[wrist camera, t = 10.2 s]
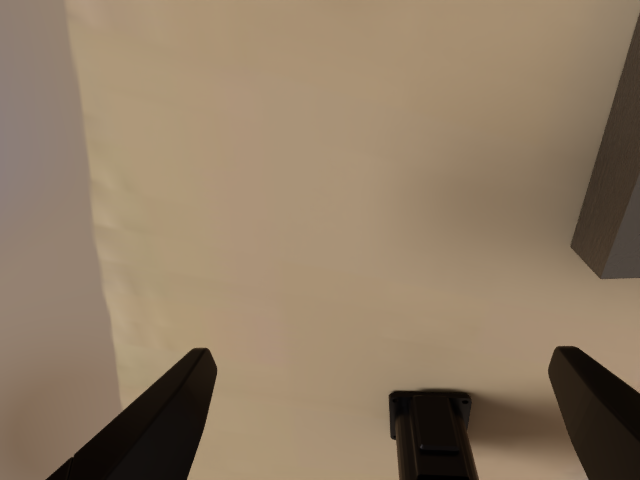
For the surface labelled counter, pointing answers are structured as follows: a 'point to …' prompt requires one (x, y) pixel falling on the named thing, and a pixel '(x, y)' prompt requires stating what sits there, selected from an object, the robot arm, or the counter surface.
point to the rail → (615, 184)
